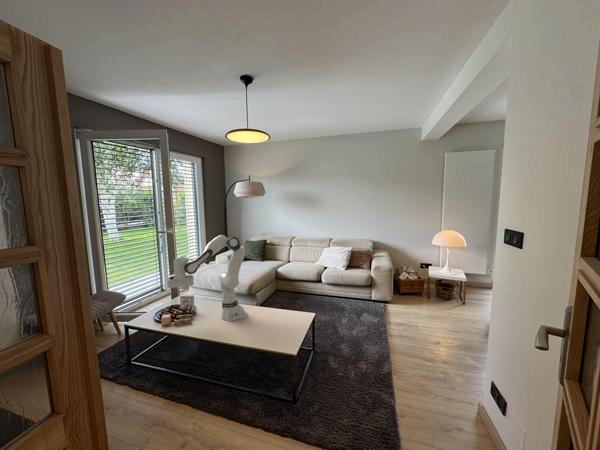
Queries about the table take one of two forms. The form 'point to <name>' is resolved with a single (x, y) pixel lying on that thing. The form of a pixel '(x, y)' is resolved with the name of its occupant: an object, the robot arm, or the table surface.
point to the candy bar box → (187, 302)
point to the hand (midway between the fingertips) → (181, 291)
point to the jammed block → (166, 319)
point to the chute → (181, 320)
